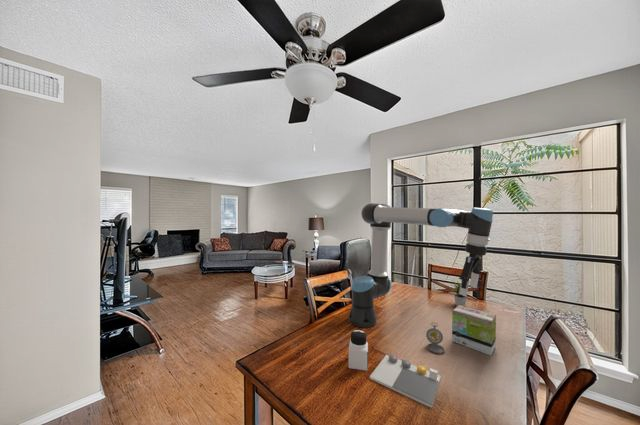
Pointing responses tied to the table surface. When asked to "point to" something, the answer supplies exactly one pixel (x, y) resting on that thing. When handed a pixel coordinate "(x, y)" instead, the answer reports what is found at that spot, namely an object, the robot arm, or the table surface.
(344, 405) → the table surface
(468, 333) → the tea box
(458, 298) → the house plant
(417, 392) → the board
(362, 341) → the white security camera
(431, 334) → the pocket watch
